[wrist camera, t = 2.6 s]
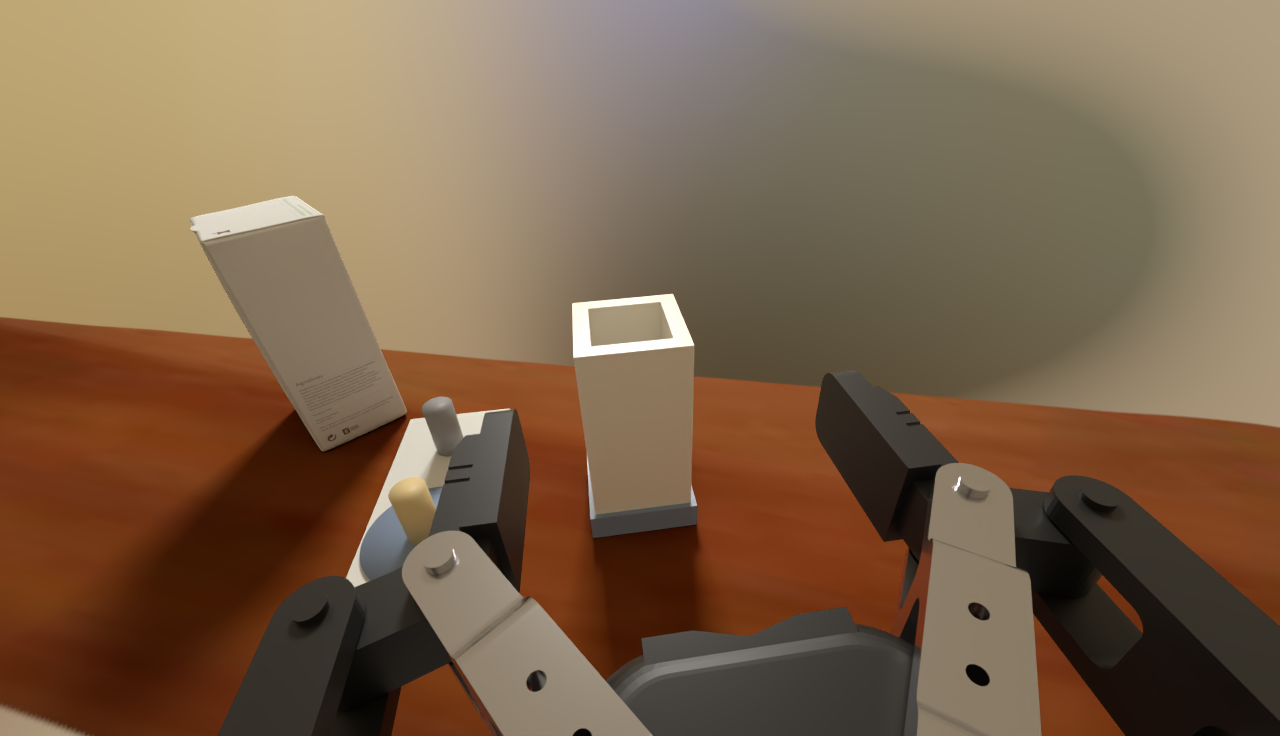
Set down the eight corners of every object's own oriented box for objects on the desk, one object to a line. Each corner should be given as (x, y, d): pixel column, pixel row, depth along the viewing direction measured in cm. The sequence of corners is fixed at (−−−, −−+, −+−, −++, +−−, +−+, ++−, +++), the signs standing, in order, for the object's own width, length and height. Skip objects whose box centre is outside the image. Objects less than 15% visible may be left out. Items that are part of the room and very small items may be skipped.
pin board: (489, 601, 25) (466, 538, 22) (347, 620, 25) (305, 559, 22) (513, 424, 37) (500, 368, 34) (416, 435, 36) (395, 379, 33)
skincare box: (409, 416, 38) (330, 214, 29) (316, 458, 35) (194, 243, 26) (374, 372, 43) (298, 190, 35) (290, 405, 40) (182, 212, 31)
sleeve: (696, 524, 29) (702, 348, 22) (592, 538, 28) (566, 362, 21) (677, 452, 34) (677, 291, 27) (588, 463, 33) (566, 301, 26)
